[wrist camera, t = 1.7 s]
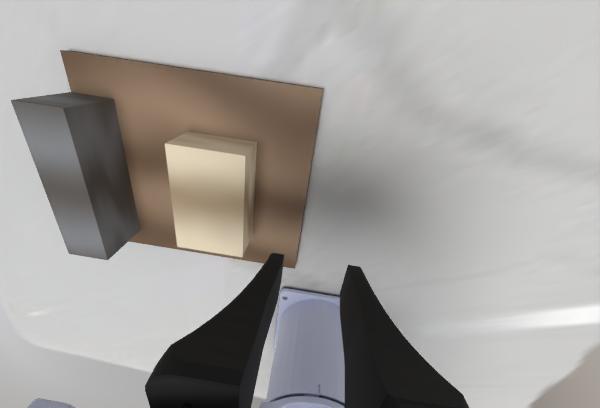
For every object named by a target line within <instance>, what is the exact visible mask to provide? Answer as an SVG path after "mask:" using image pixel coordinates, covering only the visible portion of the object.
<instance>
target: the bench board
mask: <svg viewBox="0 0 600 408" xmlns="http://www.w3.org/2000/svg"><path fill="white" fill-rule="evenodd" d="M60 52H61V55H62V59H63V63H64V66H65V70H66V74H67V77H68V81H69V85H70V89H71V92H69V93H61V94H54V95H46V96H39V97H31V98H24V99H16V100H11V102H12V105H13V107H14V110H15V113H16V115H17V118H18V120H19V123H20V126H21V128H22V131H23V134H24V136H25V139H26V142H27V144H28V147H29V149H30V152H31V155H32V157H33V160H34V163H35V165H36V168H37V171H38V173H39V176H40V178H41V181H42V184H43V186H44V189H45V192H46V194H47V197H48V200H49V202H50V205H51V207H52V210H53V213H54V215H55V218H56V221H57V223H58V226H59V229H60V231H61V234H62V236H63V239H64V242H65V244H66V247H67V250H68V252H69V254H74V255H80V256H86V257H92V258H98V259H104V260H108V259H109V258H111V257H112V256H113V255H114V254H115V253H116V252H117V251H118V250H119V249H120V248H121V247H123V246H124V245H125V244H126V243H127V242H128V241H130V242H136V243H142V244H149V245H155V246H161V247H167V248H173V249H179V250H185V251H191V252H197V253H204V254H210V255H216V256H222V257H228V258H234V259H240V260H246V261H252V262H259V263H265V262H266V261H267V259H268V258H269V256H270V254H271V253H278V254H284V261H283V267H289V268H295V264H296V258H297V252H298V245H299V239H300V233H301V226H302V220H303V214H304V207H305V201H306V194H307V188H308V182H309V175H310V169H311V163H312V156H313V150H314V144H315V137H316V131H317V124H318V118H319V112H320V105H321V99H322V93H323V89H322V88H315V87H309V86H302V85H295V84H289V83H282V82H275V81H268V80H262V79H255V78H248V77H242V76H235V75H228V74H222V73H215V72H208V71H201V70H195V69H188V68H181V67H175V66H168V65H161V64H154V63H148V62H141V61H134V60H128V59H121V58H114V57H108V56H101V55H94V54H87V53H81V52H74V51H63V50H60ZM186 132H194V133H200V134H207V135H213V136H220V137H226V138H233V139H239V140H246V141H252V142H257V153H256V173H255V193H254V213H253V234H252V237H251V239H250V241H249V244H248V246H247V248H246V250H245V253H244V255H243V257H236V256H230V255H224V254H218V253H212V252H206V251H200V250H194V249H188V248H181V247H177V240H176V232H175V224H174V216H173V208H172V200H171V191H170V183H169V175H168V167H167V159H166V151H165V143H166V142H168V141H170V140H172V139H174V138H176V137H178V136H180V135H182V134H184V133H186Z"/></svg>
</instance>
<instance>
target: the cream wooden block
mask: <svg viewBox="0 0 600 408" xmlns="http://www.w3.org/2000/svg"><path fill="white" fill-rule="evenodd" d="M165 151H166V159H167V167H168V175H169V183H170V191H171V200H172V208H173V216H174V224H175V232H176V240H177V247H181V248H188V249H194V250H200V251H206V252H212V253H218V254H224V255H230V256H236V257H243V255H244V253H245V250H246V248H247V246H248V244H249V241H250V239H251V237H252V234H253V213H254V193H255V173H256V153H257V142H252V141H246V140H239V139H233V138H226V137H220V136H213V135H207V134H200V133H194V132H186V133H184V134H182V135H180V136H178V137H176V138H174V139H172V140H170V141H168V142H166V143H165Z"/></svg>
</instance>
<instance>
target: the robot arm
mask: <svg viewBox="0 0 600 408" xmlns="http://www.w3.org/2000/svg"><path fill="white" fill-rule="evenodd" d="M283 261H284V254H278V253H271V254H270V256H269V258H268V259H267V261H266V262H265V264H264V265H263V267H262V268H261V270H260V271H259V272H258V273H257V275H256V276H255V277H254V279H253V280H252V281H251V282H250V283H249V284H248V285H247V286H246V288H245V289H244V290H243V291H242V292H241V293H240V294H239V295H238V296H237V297H236V298H235V299H234V300H233V301H232V302H231V303H230V304H229V305H227V306H226V307H225V308H224V309H223V310H222V311H220V312H219V313H218V314H217V315H215V316H214V317H213V318H212V319H210V320H209V321H207V322H206V323H205V324H203V325H202V326H200V327H199V328H198V329H196V330H195V331H193V332H192V333H190V334H188V335H187V336H185V337H183V338H182V339H180V340H179V341H177V342H175V343H174V344H172V345H171V346H170V347H169V348H168V349H167V351H166V352H165V353H164V355H163V356H162V358H161V359H160V360H159V362H158V363H157V365H156V366H155V368H154V370H153V372H152V374H151V376H150V378H149V379H148V381H147V383H146V385H145V391H146V395H147V398H148V401H149V405H150V408H251V404H252V399H253V394H254V389H255V384H256V380H257V375H258V370H259V365H260V361H261V356H262V351H263V347H264V344H265V340H266V337H267V334H268V330H269V327H270V324H271V320H272V317H273V314H274V311H275V307H276V304H277V300H278V295H279V290H280V284H281V277H282V269H283ZM284 296H285V297H284ZM274 349H275V354H274V360H273V365H272V371H271V376H270V382H269V387H268V393H267V398H266V402H261V403H260V408H469V406H468V404H467V402H466V400H465V398H464V396H463V394H461V393H460V392H459V391H458V390H457V389H456V388H455V387H454V386H452V385H451V384H450V383H449V382H448V381H447V380H446V379H444V378H443V377H442V376H441V375H440V374H439V373H438V372H437V371H436V370H435V369H434V368H433V367H432V366H431V365H430V364H429V363H428V362H426V360H425V359H424V358H423V357H422V356H421V355H420V354H419V353H418V352H417V351H416V350H415V349H414V348H413V346H412V345H411V344H410V343H409V342H408V341H407V340H406V338H405V337H404V336H403V335H402V334H401V332H400V331H399V330H398V328H397V327H396V326H395V324H394V323H393V322H392V320H391V319H390V317H389V316H388V314H387V313H386V312H385V310H384V308H383V307H382V305H381V304H380V302H379V300H378V299H377V297H376V295H375V294H374V292H373V290H372V288H371V287H370V285H369V283H368V281H367V279H366V277H365V275H364V273H363V271H362V269H361V268H360V267H358V266H351V265H348V267H347V271H346V274H345V278H344V281H343V285H342V288H341V292H340V297H336V296H330V295H324V294H318V293H312V292H306V291H300V290H294V289H288V288H284V289H282V290H281V293H280V301H279V308H278V316H277V324H276V332H275V339H274ZM28 408H75V407H73V406H72V405H70V404H67V403H62V402H57V401H51V400H45V399H40V398H38V399H35V400H34V401H33V402H32V403H31V404H30V405H29V407H28Z"/></svg>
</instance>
